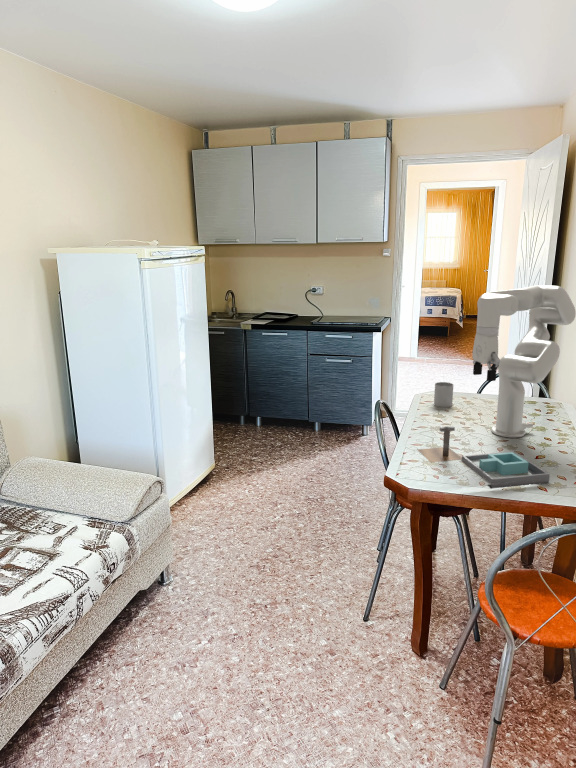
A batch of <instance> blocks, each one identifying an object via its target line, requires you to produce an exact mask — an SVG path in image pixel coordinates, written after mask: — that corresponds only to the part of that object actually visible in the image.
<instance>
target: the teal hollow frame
mask: <svg viewBox="0 0 576 768" xmlns="http://www.w3.org/2000/svg"><path fill="white" fill-rule="evenodd" d="M507 452H508V453H500V452H496V453H497V454H488V453H487V454H488V459H479V463H478V467H479V468H481V469H482V470H483V471H485V472H486V473H488V472H497V473H498V474H500V475H501V476H509V475H517V474H518V475H519V474H527V473H529V472H528V464H529V462H527V461H526V460H524V459H523V458H521V457H519V456H518V455H516V454H515V453H513V452H512V451H507Z"/></svg>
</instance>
